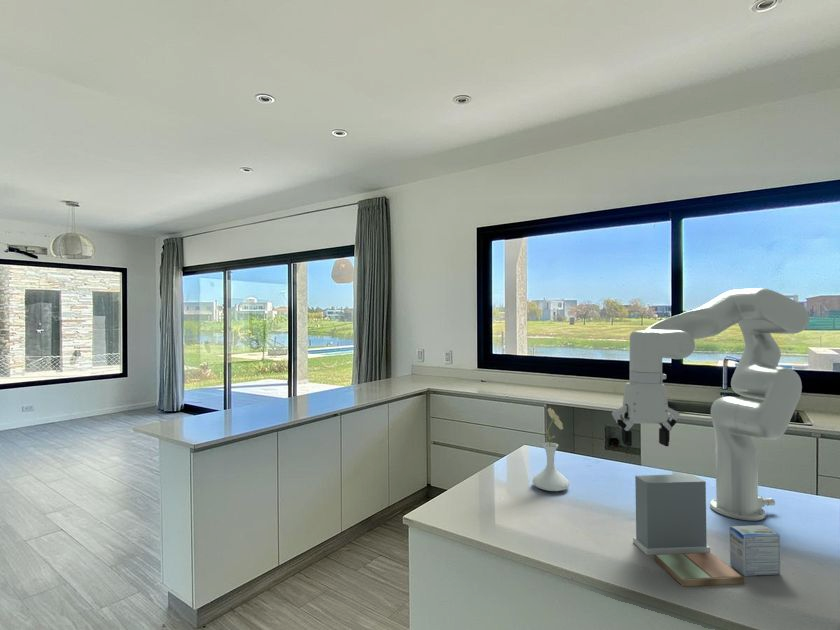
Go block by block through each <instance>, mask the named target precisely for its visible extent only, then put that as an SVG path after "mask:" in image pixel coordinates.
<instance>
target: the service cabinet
mask: <svg viewBox="0 0 840 630" xmlns="http://www.w3.org/2000/svg"><path fill="white" fill-rule="evenodd" d="M634 478H635V485H634V486H635V487H634V488H635V536H633V538H632V542H633V543H634V545H636V546H637V548H639V550H641V551H642V552H643V553H644V554H645V555H646V556H654V554H678V553H703V552H710V553H711V547H710V546H709V545H708V544H707V542H708V541H707V539H708V538H707V496H706V495H707V491H706V490H707V487H706V486H707V484H706V480H704V479H701V478H700V477H698V476H697V475H694V474H692V473H683V474H682V473H681V474H676V473H675V474H647V475H646V474H645V475H644V474H642V475H635V477H634Z"/></svg>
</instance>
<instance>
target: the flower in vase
mask: <svg viewBox="0 0 840 630" xmlns="http://www.w3.org/2000/svg"><path fill="white" fill-rule="evenodd" d="M547 413H548V415H549V417H550V418H551V421H550V423H549V425H548V429H546V431H545V432H546V435H547V440H548V442H543V443H541V445H542V446H543V448H544V450H545V454H546V465H545V468H544V469H542V470H541V471H540V472H539V473H537V474H535V476H533V478H532V484H533V485H534V486H535V487H536V488H539V489H542V490H544V491H549V492H559V491H565V490H567V489H568V488H569V487H570V481H569V479H568V478H566V476H564V474H562V473H561V472H560V471H559V470H557V469H556V466H555V454H556V451H557V448H558V447H559V444H558V443H555V442H550V441H551V440H552V439H554V438H555V437H556V436H555V435H552V436H551V437H550V434H549V432H550V428H551V425H552V423H554V424H555V425H556V427H557V428H558V429H559V430H563V429H564V427H563V426H564V424H563V422H562V421H561V420H560V416H559V415H557V413H556V412H555V410H554V409H552V408H551V407H549V408H548V409H547Z"/></svg>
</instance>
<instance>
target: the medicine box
mask: <svg viewBox="0 0 840 630" xmlns="http://www.w3.org/2000/svg"><path fill="white" fill-rule="evenodd" d="M729 559H730V560H729V562H730V563H729V564H730V565H731V568H733V569H735V571H736V570H737V571H736V572H739V574H740V575H741V574H742V576H743V577H744V576H745V577H748V576H771V575H773V576H774V575H781V535H780V534H779V533H778V532H776V531H774V530H773V529H771V528H769V527H767V526H766V525H763V524H762V525H758V524H757V525H735V526H734V525H733V526H730V527H729Z"/></svg>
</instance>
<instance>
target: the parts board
mask: <svg viewBox="0 0 840 630" xmlns="http://www.w3.org/2000/svg"><path fill="white" fill-rule="evenodd" d="M653 561H655V562H656V563H657V564H658V565H659V566H660V567H661V568H662V569H663V570H665V572H667V574H668V575H670V576H671V577H672V578H673V577H674V578H675V579H676V580H677V581H678V582H679V583H680V584H681V585H680V584H679V585H680V586H681V587H694V586H695V587H699V586H700V587H701V586H716V585H717V586H718V585H719V586H720V585H723V586H724V585H743V584H745V577H744V575H741V573H740V572H739V573H738V571H736V570H734V568H733V567H730V566H729V564H727V563H725V562H724V561H723V560H721V559H720V558H718V557H717V556H715V555H714V554H713V553H712V552H711V551H710V552H703V553H678V554H654V555H653ZM674 578H673V579H674ZM675 579H674V580H675ZM676 580H675V581H676ZM677 581H676V582H677ZM678 582H677V583H678Z"/></svg>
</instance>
